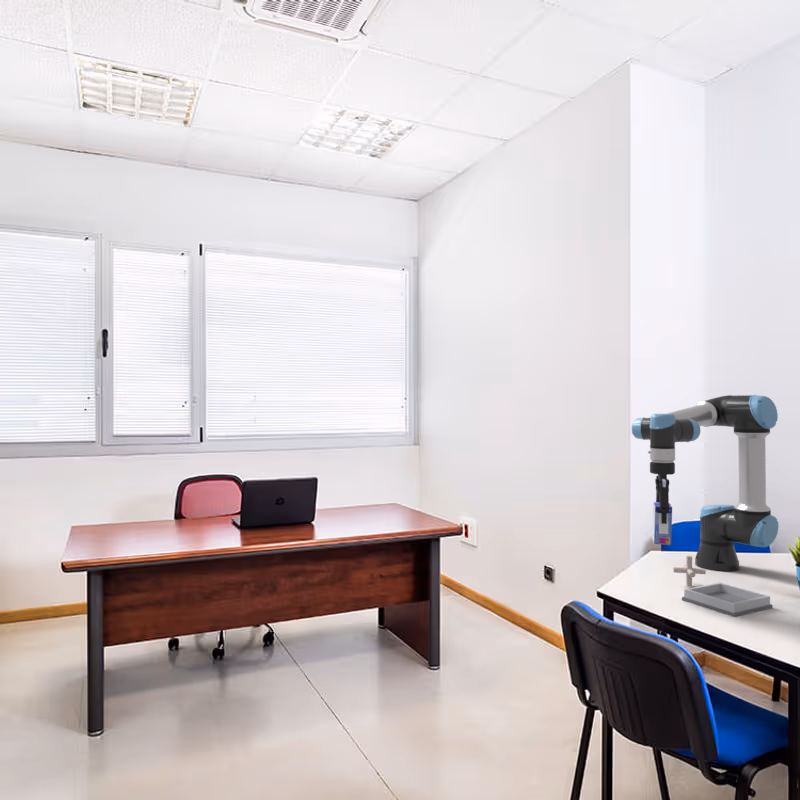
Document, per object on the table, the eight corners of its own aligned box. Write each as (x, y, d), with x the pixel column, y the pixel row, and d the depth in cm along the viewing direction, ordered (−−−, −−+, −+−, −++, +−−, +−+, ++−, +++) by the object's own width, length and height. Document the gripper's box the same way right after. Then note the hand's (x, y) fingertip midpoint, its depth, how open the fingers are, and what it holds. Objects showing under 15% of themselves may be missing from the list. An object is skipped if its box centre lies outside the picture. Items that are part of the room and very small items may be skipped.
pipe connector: (708, 590, 219) (708, 560, 219) (676, 588, 221) (676, 558, 221) (701, 582, 229) (701, 553, 229) (670, 580, 231) (670, 552, 231)
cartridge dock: (719, 592, 217) (719, 581, 217) (772, 608, 201) (772, 596, 201) (681, 600, 208) (682, 589, 208) (734, 616, 193) (734, 604, 192)
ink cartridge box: (672, 545, 209) (672, 499, 208) (653, 544, 210) (654, 499, 210) (669, 539, 218) (670, 495, 218) (651, 538, 220) (652, 494, 220)
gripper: (647, 458, 226) (647, 523, 226) (652, 464, 204) (652, 536, 204) (671, 458, 224) (671, 524, 224) (678, 465, 202) (678, 538, 202)
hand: (662, 530), depth 214 cm, fingers closed on ink cartridge box, 10 cm apart
